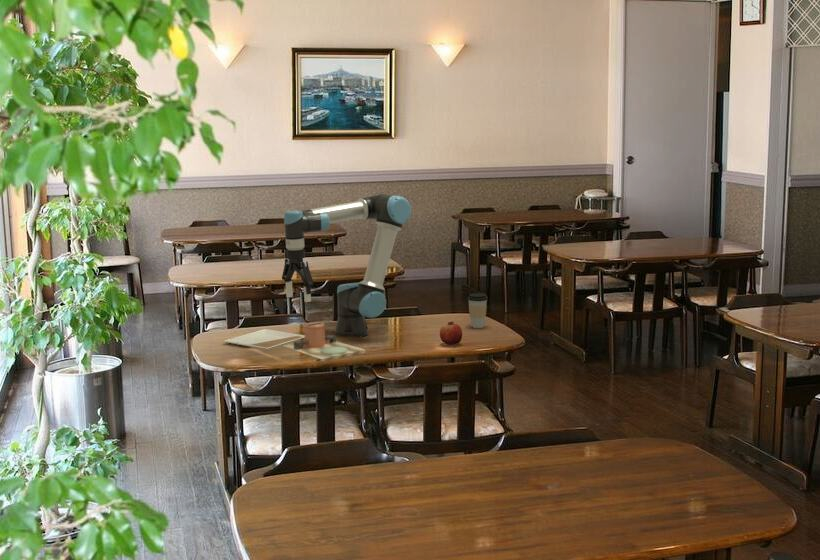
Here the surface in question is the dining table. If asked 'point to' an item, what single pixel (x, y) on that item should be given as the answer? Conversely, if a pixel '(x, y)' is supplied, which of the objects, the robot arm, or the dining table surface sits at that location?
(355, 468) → the dining table surface
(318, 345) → the pink cylinder
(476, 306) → the coffee cup
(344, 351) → the coaster
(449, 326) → the fruit
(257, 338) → the plate
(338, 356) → the lock station
